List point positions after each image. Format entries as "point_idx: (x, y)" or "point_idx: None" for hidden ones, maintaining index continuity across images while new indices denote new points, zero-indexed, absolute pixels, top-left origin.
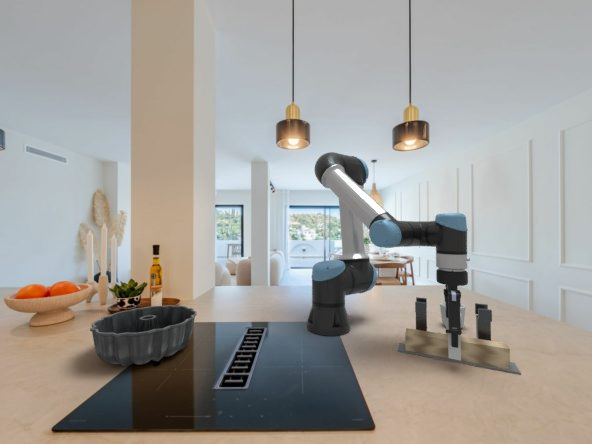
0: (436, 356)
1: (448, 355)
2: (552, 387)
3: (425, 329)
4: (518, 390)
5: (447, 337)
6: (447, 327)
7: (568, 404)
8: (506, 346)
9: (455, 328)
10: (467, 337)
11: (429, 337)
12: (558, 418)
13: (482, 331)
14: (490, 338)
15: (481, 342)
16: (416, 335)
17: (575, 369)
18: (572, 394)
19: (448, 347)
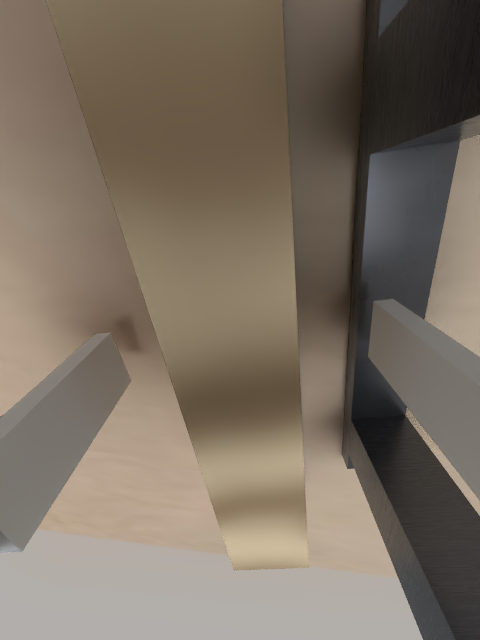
0: None
1: (99, 338)
2: (198, 522)
3: (446, 108)
4: (117, 475)
5: (212, 367)
6: (442, 372)
7: (131, 528)
8: (260, 566)
9: (429, 428)
10: (299, 465)
11: (122, 219)
12: (48, 510)
13: (402, 547)
14: (377, 524)
15: (249, 510)
16: (64, 31)
17: (346, 561)
18: (189, 539)
19: (50, 373)
